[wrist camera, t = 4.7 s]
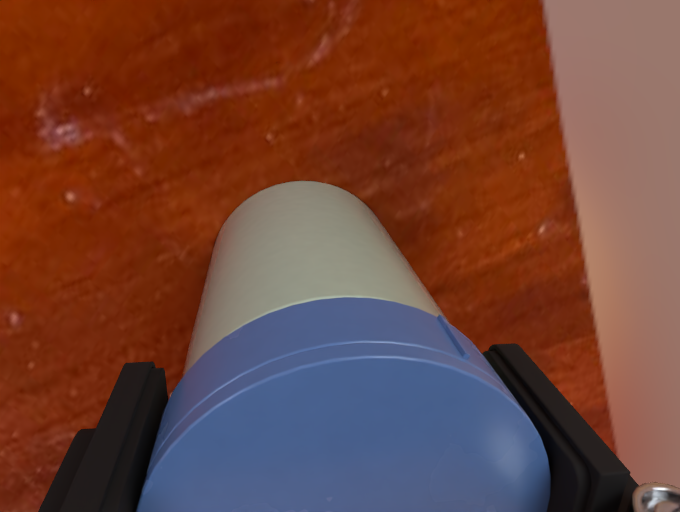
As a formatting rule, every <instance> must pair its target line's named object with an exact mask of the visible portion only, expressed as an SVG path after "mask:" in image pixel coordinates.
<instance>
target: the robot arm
mask: <svg viewBox="0 0 680 512" xmlns="http://www.w3.org/2000/svg"><path fill="white" fill-rule="evenodd" d="M483 355H484V357H485V358H486V359H487V361H488V362H489V364H490V365H491V366H492V368H493V369H494V370H495V372H496V373H497V374H498V376H499V377H500V379H501V380H502V381H503V383H504V384H505V385H506V387H507V388H508V389H509V391H510V392H511V394H512V395H513V396H514V398H515V399H516V400H517V402H518V403H519V405H520V406H521V407H522V409H523V410H524V411H525V413H526V414H527V415H528V417H529V418H530V420H531V421H532V423H533V425H534V426H535V428H536V430H537V431H538V433H539V435H540V437H541V439H542V442H543V445H544V448H545V450H546V453H547V456H548V462H549V468H550V474H551V494H550V499H549V503H548V508H547V512H680V488H677V487H675V486H672V485H669V484H663V483H656V482H654V483H644V484H642V485H640V486H639V485H638V484H637V483H636V482H635V481H634V480H633V478H632V477H631V476H630V471H629V470H628V469H627V468H626V467H625V466H624V465H623V463H622V462H621V461H620V460H619V459H618V458H617V457H616V455H615V454H614V453H613V452H612V451H611V450H610V449H609V447H608V446H607V445H606V444H605V443H604V442H603V441H602V439H601V438H600V437H599V436H598V435H597V434H596V433H595V431H594V430H593V429H592V428H591V427H590V426H589V425H588V424H587V422H586V421H585V420H584V419H583V418H582V417H581V416H580V414H579V413H578V412H577V411H576V410H575V409H574V408H573V406H572V405H571V404H570V403H569V402H568V401H567V400H566V398H565V397H564V396H563V395H562V394H561V393H560V392H559V390H558V389H557V388H556V387H555V386H554V385H553V384H552V383H551V381H550V380H549V379H548V378H547V377H546V376H545V375H544V373H543V372H542V371H541V370H540V369H539V368H538V367H537V365H536V364H535V363H534V362H533V361H532V360H531V359H530V357H529V356H528V355H527V354H526V353H525V352H524V351H523V349H522V348H521V347H520V346H519V345H517V344H495V345H492V346H490V348H489V351H485V352H484V353H483ZM167 403H168V395H167V387H166V378H165V371H164V369H163V368H156V367H155V364H154V362H136V363H125V365H124V366H123V368H122V371H121V373H120V375H119V377H118V380H117V382H116V384H115V386H114V389H113V391H112V393H111V396H110V398H109V400H108V402H107V405H106V407H105V409H104V411H103V414H102V416H101V418H100V421H99V423H98V425H97V427H96V428H94V429H81V430H80V431H78V432H77V434H76V436H75V437H74V439H73V441H72V443H71V445H70V447H69V449H68V451H67V453H66V456H65V458H64V460H63V462H62V464H61V466H60V468H59V470H58V472H57V474H56V476H55V478H54V480H53V482H52V484H51V486H50V488H49V491H48V493H47V495H46V497H45V499H44V501H43V503H42V505H41V507H40V509H39V511H38V512H136V508H137V504H138V501H139V497H140V494H141V490H142V486H143V482H144V479H145V475H146V471H147V468H148V464H149V460H150V457H151V453H152V449H153V446H154V442H155V438H156V435H157V431H158V428H159V425H160V421H161V418H162V415H163V412H164V409H165V407H166V405H167Z"/></svg>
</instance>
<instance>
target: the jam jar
mask: <svg viewBox="0 0 680 512" xmlns="http://www.w3.org/2000/svg"><path fill="white" fill-rule="evenodd" d="M341 297H356V298H374V299H381V300H387V301H394V302H398V303H401V304H405V305H408V306H412V307H415V308H418V309H421V310H423V311H425V312H427V313H430V314H432V315H434V316H437V317H438V316H439V314H440V315H442V316H444V318H445V319H446V320H447V318H446V317H445V315H444V314H443V312H442V311H441V309H440V308H439V307H438V305H437V304H436V302H435V301H434V299H433V298H432V296H431V295H430V294H429V292H428V291H427V289H426V288H425V286H424V285H423V283H422V282H421V281H420V279H419V278H418V276H417V275H416V273H415V272H414V270H413V269H412V268H411V266H410V265H409V263H408V262H407V260H406V259H405V257H404V256H403V255H402V253H401V252H400V250H399V249H398V247H397V246H396V244H395V243H394V241H393V240H392V239H391V237H390V236H389V234H388V233H387V231H386V230H385V228H384V227H383V226H382V224H381V223H380V221H379V220H378V218H377V217H376V215H375V214H374V213H373V212H372V211H371V210H370V208H369V207H368V206H367V205H366V204H364V203H363V202H362V201H361V200H360V199H359V198H357V197H356V196H354V195H352V194H351V193H349V192H347V191H345V190H343V189H341V188H339V187H336V186H333V185H329V184H326V183H320V182H314V181H295V182H287V183H282V184H278V185H275V186H272V187H269V188H266V189H264V190H262V191H260V192H258V193H256V194H254V195H253V196H251V197H250V198H248V199H247V200H246V201H244V202H243V203H242V204H241V205H240V206H238V207H237V208H236V209H235V210H234V211H233V212H232V214H231V215H230V216H229V217H228V219H227V220H226V221H225V223H224V225H223V226H222V228H221V230H220V232H219V234H218V236H217V239H216V241H215V245H214V249H213V253H212V257H211V261H210V265H209V269H208V273H207V277H206V281H205V285H204V289H203V293H202V297H201V301H200V305H199V309H198V313H197V317H196V321H195V325H194V329H193V333H192V337H191V341H190V345H189V349H188V353H187V357H186V361H185V365H184V369H183V374H182V378H183V377H184V375H185V374H186V372H187V371H188V370H189V369H190V368H191V367H192V366H193V365H194V364H195V363H196V361H197V360H198V359H199V358H200V357H201V356H202V355H203V354H204V353H205V352H207V351H208V350H209V349H210V348H212V347H213V346H214V345H215V344H216V343H218V342H219V341H220V340H221V339H222V338H224V337H226V336H227V335H229V334H230V333H232V332H234V331H235V330H237V329H238V328H240V327H241V326H243V325H245V324H247V323H249V322H251V321H253V320H255V319H257V318H259V317H262V316H264V315H266V314H268V313H271V312H274V311H277V310H280V309H283V308H286V307H289V306H292V305H296V304H300V303H305V302H310V301H314V300H320V299H330V298H341ZM447 322H448V323H449V324H450V322H449V321H448V320H447ZM450 325H451V324H450ZM182 378H181V379H182Z"/></svg>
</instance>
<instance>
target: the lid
mask: <svg viewBox="0 0 680 512" xmlns="http://www.w3.org/2000/svg"><path fill="white" fill-rule="evenodd" d="M550 494H551V474H550V468H549V462H548V456H547V453H546V450H545V448H544V445H543V442H542V439H541V437H540V435H539V433H538V431H537V430H536V428H535V426H534V425H533V423H532V421H531V420H530V418H529V417H528V415H527V414H526V413H525V411H524V410H523V409H522V407H521V406H520V405H519V403H518V402H517V400H516V399H515V398H514V396H513V395H512V394H511V392H510V391H509V389H508V388H507V387H506V385H505V384H504V383H503V381H502V380H501V379H500V377H499V376H498V374H497V373H496V372H495V370H494V369H493V368H492V366H491V365H490V364H489V362H488V361H487V359H486V358H485V357H484V355H483V354H482V353H481V352H480V351H479V350H478V348H477V347H476V346H475V345H474V344H473V343H472V341H470V340H469V339H468V338H467V337H466V336H465V335H463V334H462V333H461V332H460V331H459V330H458V329H456V328H455V327H453V326H452V325H450V324H449V323H448V322H447V320H446V319H445V318H444V316H442V315H440V314H439V316H438V317H437V316H434V315H432V314H430V313H427V312H425V311H423V310H421V309H418V308H415V307H412V306H408V305H405V304H401V303H398V302H394V301H387V300H381V299H374V298H356V297H341V298H330V299H320V300H314V301H310V302H305V303H300V304H296V305H292V306H289V307H286V308H283V309H280V310H277V311H274V312H271V313H268V314H266V315H264V316H262V317H259V318H257V319H255V320H253V321H251V322H249V323H247V324H245V325H243V326H241V327H240V328H238V329H237V330H235V331H234V332H232V333H230V334H229V335H227V336H226V337H224V338H222V339H221V340H220V341H219V342H218V343H216V344H215V345H214V346H213V347H212V348H210V349H209V350H208V351H207V352H205V353H204V354H203V355H202V356H201V357H200V358H199V359H198V360H197V361H196V363H195V364H194V365H193V366H192V367H191V368H190V369H189V370H188V371H187V372H186V374H185V375H184V377H183V378H182V379H181V381H180V382H179V384H178V385H177V387H176V388H175V389H174V391H173V393H172V395H171V397H170V399H169V401H168V403H167V405H166V407H165V409H164V412H163V415H162V418H161V421H160V425H159V428H158V431H157V435H156V438H155V442H154V446H153V449H152V453H151V457H150V460H149V464H148V468H147V471H146V475H145V479H144V482H143V486H142V490H141V494H140V497H139V501H138V504H137V508H136V512H547V508H548V503H549V499H550Z"/></svg>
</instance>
